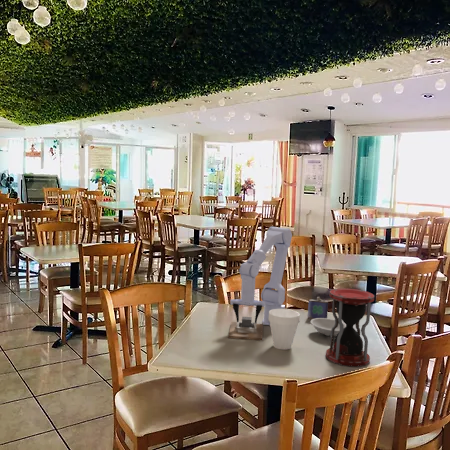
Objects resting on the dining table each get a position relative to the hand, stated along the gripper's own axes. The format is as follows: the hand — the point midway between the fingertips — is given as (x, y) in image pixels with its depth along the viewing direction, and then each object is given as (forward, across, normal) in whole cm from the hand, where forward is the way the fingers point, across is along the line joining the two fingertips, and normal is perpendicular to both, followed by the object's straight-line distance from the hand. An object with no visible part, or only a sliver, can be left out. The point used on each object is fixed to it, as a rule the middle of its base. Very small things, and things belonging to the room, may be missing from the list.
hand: (246, 321), depth 206 cm
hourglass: (+5, +39, -23) cm, 46 cm away
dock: (+4, 0, 0) cm, 4 cm away
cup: (+5, +15, -15) cm, 22 cm away
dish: (+5, +35, +3) cm, 35 cm away
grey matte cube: (+3, 0, 0) cm, 3 cm away
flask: (+5, +33, +27) cm, 43 cm away
